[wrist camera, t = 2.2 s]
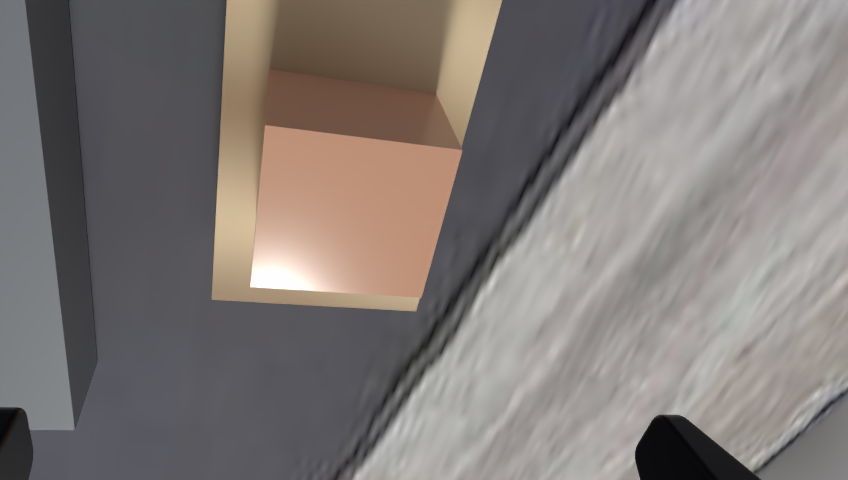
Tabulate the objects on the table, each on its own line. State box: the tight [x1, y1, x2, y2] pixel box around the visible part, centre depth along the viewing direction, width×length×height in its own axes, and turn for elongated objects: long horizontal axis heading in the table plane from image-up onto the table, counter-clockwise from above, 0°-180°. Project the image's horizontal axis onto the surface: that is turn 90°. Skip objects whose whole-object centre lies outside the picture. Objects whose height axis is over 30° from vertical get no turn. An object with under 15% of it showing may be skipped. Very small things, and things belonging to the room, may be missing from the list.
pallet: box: [212, 0, 502, 311], centre depth 18 cm, size 10×6×4 cm, turn 168°
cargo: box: [250, 69, 462, 298], centre depth 15 cm, size 4×4×3 cm
